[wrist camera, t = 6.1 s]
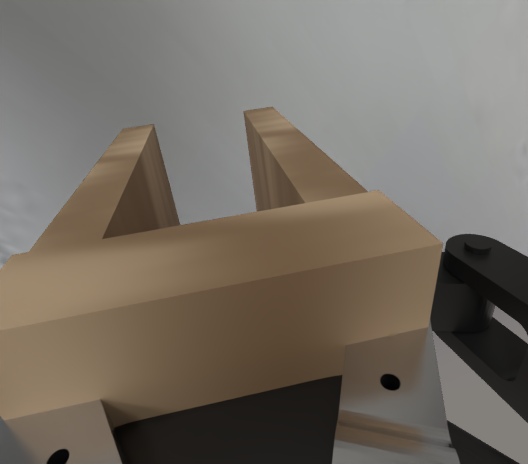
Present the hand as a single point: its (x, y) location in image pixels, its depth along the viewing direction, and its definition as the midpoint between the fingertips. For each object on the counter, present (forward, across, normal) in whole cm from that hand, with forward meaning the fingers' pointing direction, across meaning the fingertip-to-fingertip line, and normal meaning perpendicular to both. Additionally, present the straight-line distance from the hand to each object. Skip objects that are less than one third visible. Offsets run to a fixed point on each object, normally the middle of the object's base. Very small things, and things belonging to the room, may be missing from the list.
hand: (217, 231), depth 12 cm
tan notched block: (+4, 0, 0) cm, 4 cm away
